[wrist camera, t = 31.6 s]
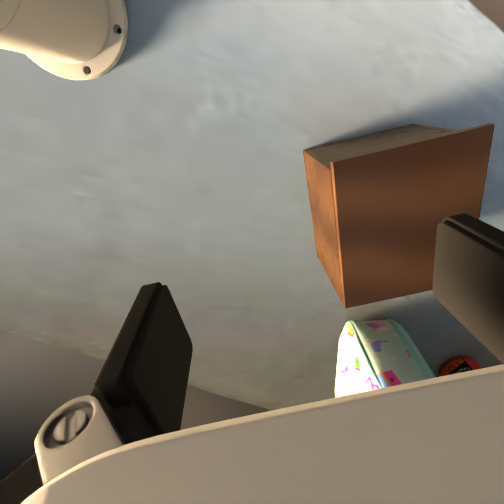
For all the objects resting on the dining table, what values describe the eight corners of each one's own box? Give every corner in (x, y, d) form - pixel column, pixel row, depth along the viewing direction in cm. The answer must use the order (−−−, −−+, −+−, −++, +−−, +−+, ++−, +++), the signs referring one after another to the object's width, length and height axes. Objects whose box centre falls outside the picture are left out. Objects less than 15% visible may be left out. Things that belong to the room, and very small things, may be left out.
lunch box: (376, 402, 65) (435, 528, 46) (329, 407, 64) (370, 535, 46) (394, 305, 52) (486, 422, 33) (337, 310, 52) (396, 431, 33)
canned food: (455, 350, 59) (500, 400, 49) (483, 361, 61) (531, 412, 51) (429, 375, 62) (466, 427, 52) (456, 385, 64) (497, 437, 54)
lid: (330, 160, 28) (332, 162, 27) (488, 123, 27) (494, 123, 26) (343, 304, 36) (345, 308, 35) (463, 278, 35) (468, 282, 34)
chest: (302, 150, 39) (329, 169, 28) (412, 123, 39) (483, 133, 28) (317, 256, 47) (342, 304, 36) (409, 236, 46) (463, 278, 35)
